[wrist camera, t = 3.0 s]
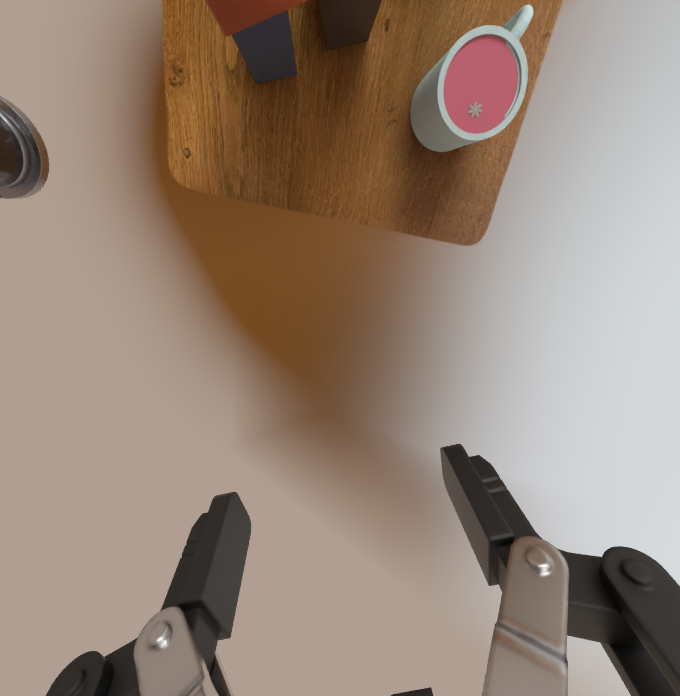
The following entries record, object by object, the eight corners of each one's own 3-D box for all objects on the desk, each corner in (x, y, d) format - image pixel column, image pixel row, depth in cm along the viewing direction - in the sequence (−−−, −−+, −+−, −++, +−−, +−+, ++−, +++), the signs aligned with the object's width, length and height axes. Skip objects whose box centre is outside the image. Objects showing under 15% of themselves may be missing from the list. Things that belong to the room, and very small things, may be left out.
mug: (446, 167, 44) (480, 160, 35) (395, 119, 41) (418, 97, 32) (521, 65, 39) (583, 26, 30) (470, 3, 37) (522, -60, 28)
